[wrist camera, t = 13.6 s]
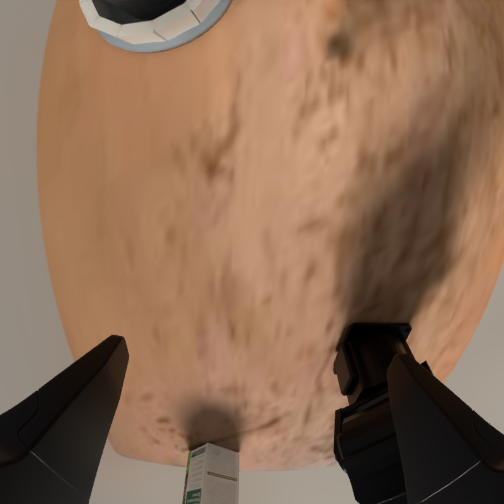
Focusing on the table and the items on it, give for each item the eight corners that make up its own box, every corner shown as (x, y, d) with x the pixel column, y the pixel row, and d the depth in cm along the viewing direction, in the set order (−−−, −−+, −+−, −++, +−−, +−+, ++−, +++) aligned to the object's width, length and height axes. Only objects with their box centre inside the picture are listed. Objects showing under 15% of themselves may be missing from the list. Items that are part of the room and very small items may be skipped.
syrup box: (207, 441, 35) (197, 531, 22) (241, 452, 37) (237, 537, 24) (188, 451, 37) (176, 531, 24) (220, 461, 39) (214, 538, 26)
